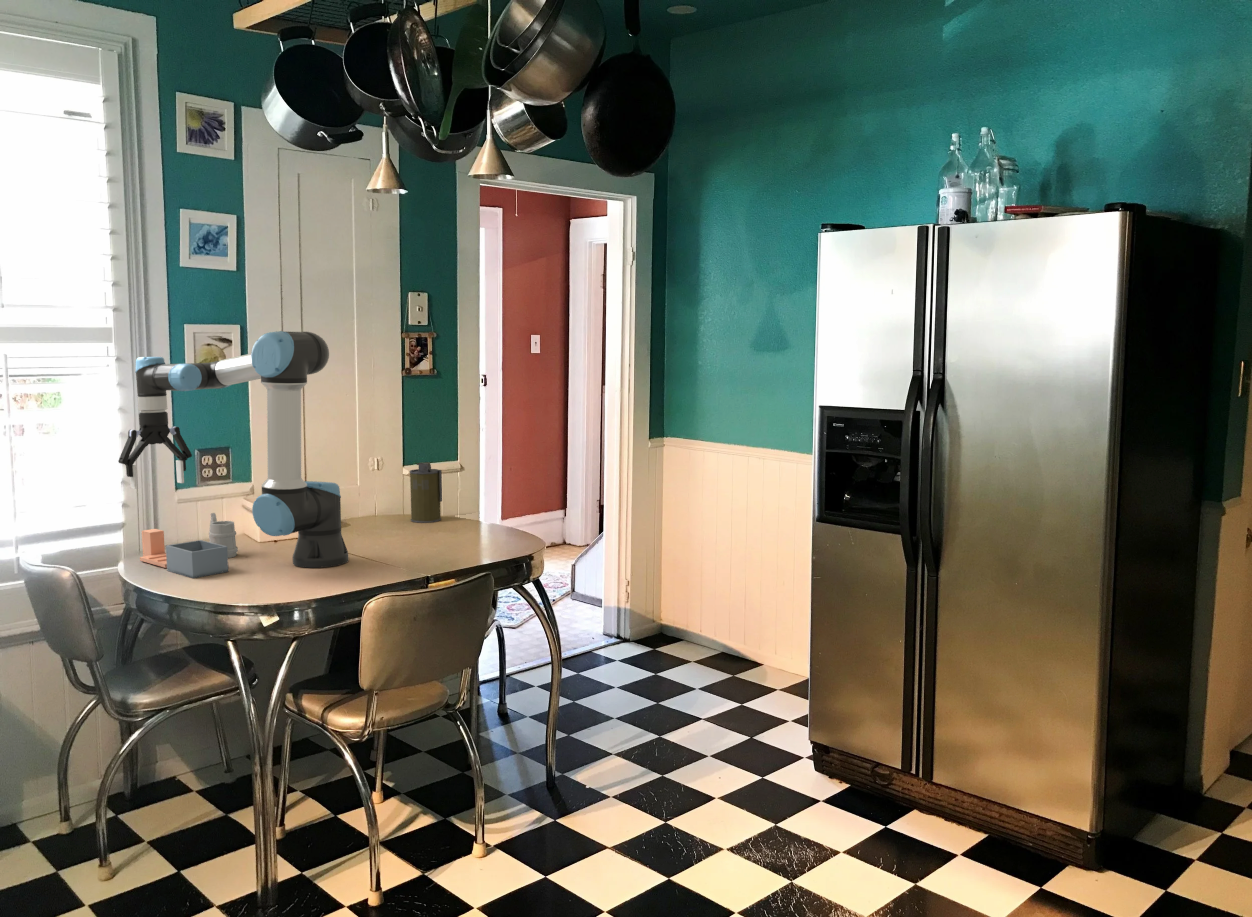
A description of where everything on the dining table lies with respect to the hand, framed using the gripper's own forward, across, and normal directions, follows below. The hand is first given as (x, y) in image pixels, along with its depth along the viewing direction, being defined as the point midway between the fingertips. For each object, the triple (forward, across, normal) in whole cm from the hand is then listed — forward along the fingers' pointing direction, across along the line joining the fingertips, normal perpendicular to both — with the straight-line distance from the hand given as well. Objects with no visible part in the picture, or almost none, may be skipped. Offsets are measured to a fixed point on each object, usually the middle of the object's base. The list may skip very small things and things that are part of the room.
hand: (157, 485), depth 298 cm
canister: (+22, -88, +11) cm, 92 cm away
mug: (+21, -13, +10) cm, 27 cm away
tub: (+21, +2, +24) cm, 32 cm away
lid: (+21, +1, +5) cm, 22 cm away
